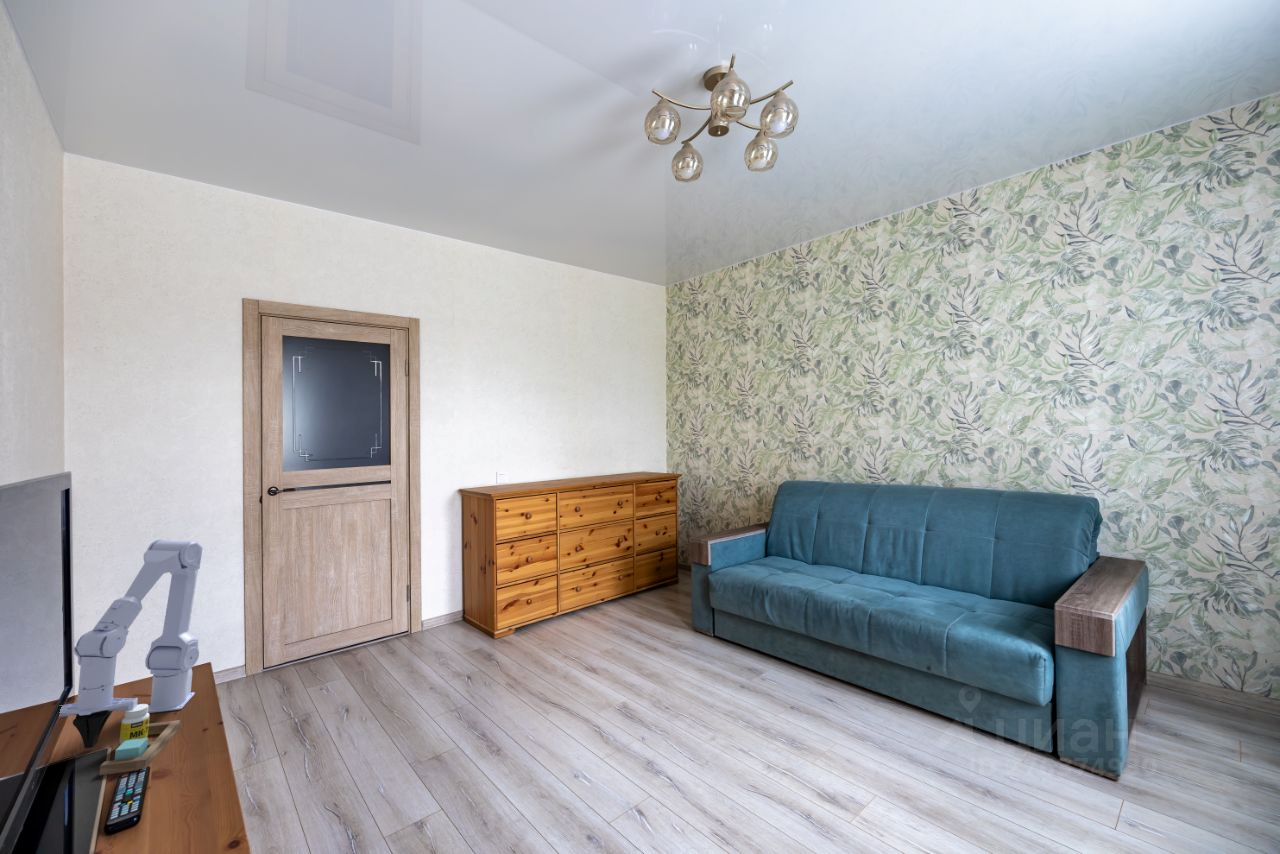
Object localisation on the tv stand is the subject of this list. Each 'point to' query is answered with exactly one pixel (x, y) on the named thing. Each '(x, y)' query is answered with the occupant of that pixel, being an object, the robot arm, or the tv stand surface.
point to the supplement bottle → (135, 724)
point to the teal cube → (131, 749)
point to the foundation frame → (152, 750)
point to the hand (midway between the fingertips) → (90, 745)
